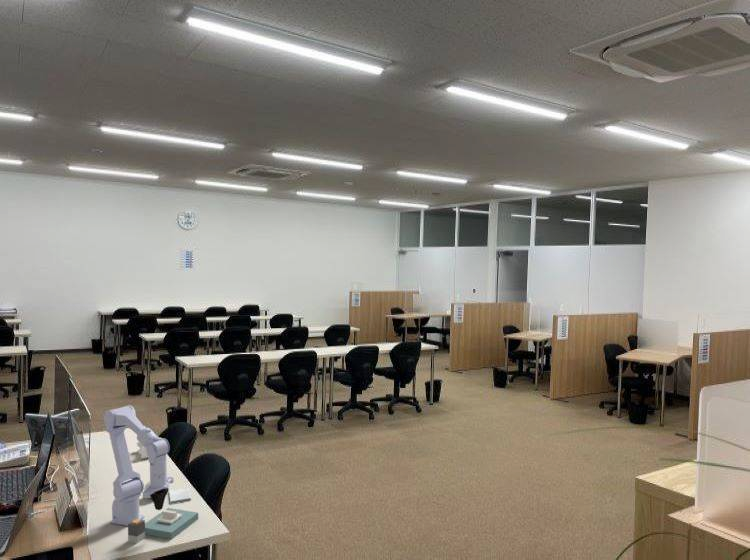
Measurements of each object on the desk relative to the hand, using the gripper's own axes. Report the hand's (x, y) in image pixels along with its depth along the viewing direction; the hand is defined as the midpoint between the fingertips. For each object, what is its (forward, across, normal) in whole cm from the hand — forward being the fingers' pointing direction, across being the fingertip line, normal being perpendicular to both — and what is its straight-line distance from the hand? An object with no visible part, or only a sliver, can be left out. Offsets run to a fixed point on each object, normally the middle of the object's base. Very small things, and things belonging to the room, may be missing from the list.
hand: (158, 509), depth 201 cm
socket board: (+9, +6, 0) cm, 11 cm away
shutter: (+7, +6, 0) cm, 9 cm away
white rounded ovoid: (+10, +26, +23) cm, 36 cm away
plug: (+9, -6, +5) cm, 12 cm away
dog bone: (+10, +66, +61) cm, 90 cm away
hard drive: (+10, +29, +13) cm, 33 cm away
